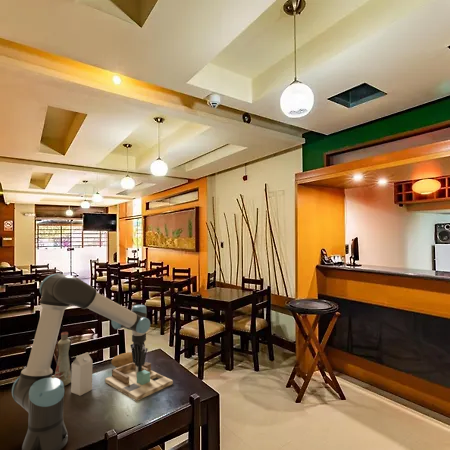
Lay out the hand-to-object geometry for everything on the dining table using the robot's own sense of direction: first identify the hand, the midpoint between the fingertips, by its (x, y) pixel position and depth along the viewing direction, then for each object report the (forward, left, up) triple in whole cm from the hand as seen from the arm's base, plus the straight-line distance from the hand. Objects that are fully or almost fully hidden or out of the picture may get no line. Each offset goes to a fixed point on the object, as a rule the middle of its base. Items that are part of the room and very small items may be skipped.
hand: (138, 377), depth 166 cm
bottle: (-27, +31, -4) cm, 42 cm away
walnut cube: (+9, +6, -2) cm, 11 cm away
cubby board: (0, 0, -4) cm, 4 cm away
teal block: (0, -4, -2) cm, 4 cm away
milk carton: (-24, +15, -4) cm, 29 cm away
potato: (+6, +25, -4) cm, 26 cm away
